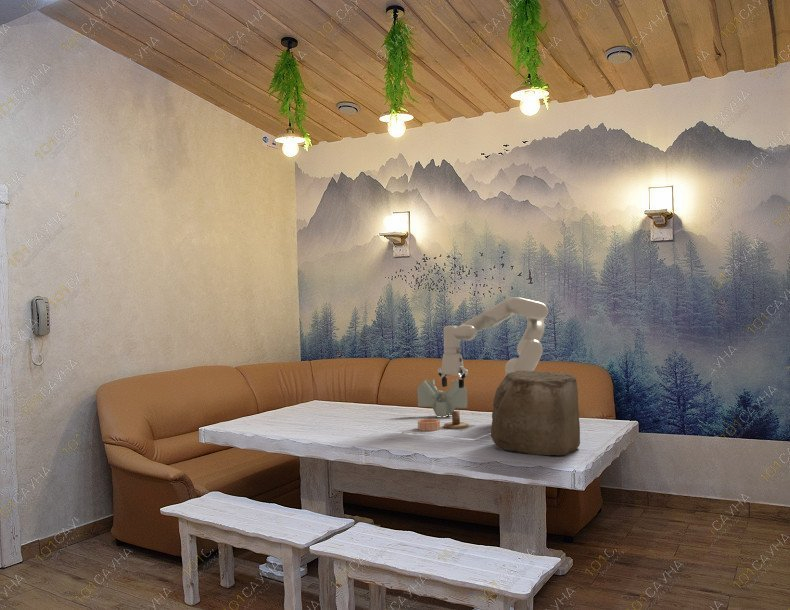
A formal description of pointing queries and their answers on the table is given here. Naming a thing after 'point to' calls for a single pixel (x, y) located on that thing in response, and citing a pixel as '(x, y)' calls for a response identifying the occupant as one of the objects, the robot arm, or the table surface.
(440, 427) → the trivet
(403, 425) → the table surface
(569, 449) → the stone block
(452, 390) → the bracket
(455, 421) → the lid
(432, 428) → the bowl
